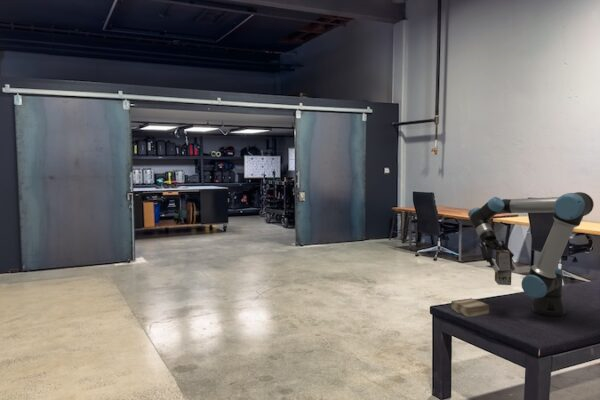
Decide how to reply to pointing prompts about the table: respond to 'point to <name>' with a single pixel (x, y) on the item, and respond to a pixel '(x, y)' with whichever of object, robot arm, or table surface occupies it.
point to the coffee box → (503, 267)
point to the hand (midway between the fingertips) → (506, 270)
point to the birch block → (470, 307)
